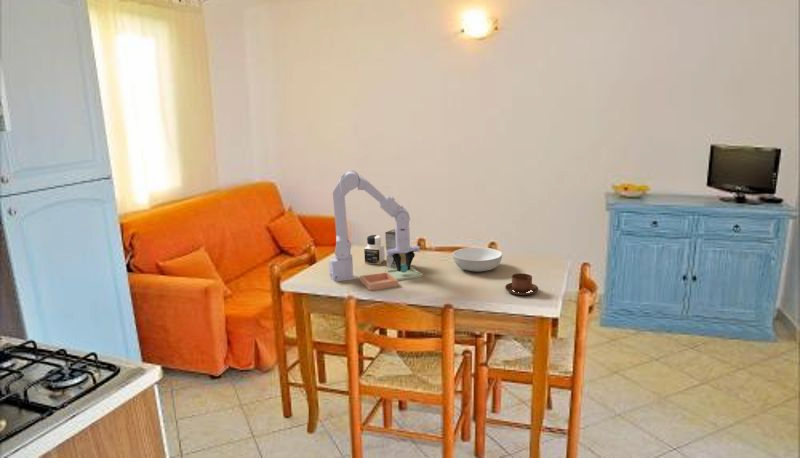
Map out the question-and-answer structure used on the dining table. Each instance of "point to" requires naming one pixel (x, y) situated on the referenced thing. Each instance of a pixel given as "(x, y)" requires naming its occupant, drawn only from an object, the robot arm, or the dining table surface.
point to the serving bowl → (477, 258)
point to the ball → (404, 268)
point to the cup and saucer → (521, 284)
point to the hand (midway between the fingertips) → (403, 270)
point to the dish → (379, 281)
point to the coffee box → (391, 245)
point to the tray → (404, 274)
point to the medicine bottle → (374, 250)
